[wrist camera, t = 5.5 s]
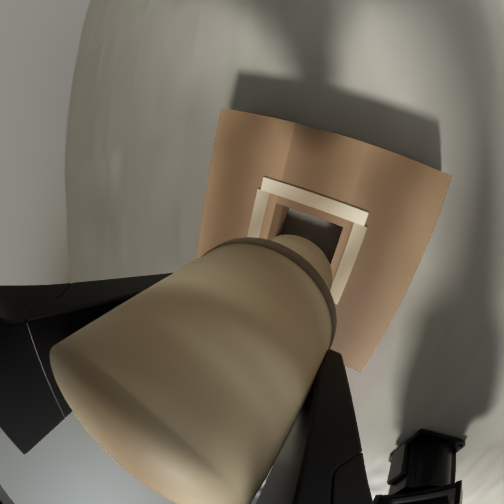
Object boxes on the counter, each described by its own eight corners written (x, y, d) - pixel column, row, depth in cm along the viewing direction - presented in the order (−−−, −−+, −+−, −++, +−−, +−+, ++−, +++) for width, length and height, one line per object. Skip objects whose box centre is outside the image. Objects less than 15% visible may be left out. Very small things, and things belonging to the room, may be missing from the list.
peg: (372, 244, 10) (289, 482, 2) (325, 344, 12) (223, 531, 4) (251, 196, 11) (27, 289, 4) (227, 298, 13) (75, 426, 6)
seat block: (442, 172, 15) (452, 176, 12) (366, 347, 21) (360, 372, 18) (243, 112, 19) (220, 107, 17) (212, 280, 25) (190, 295, 23)
